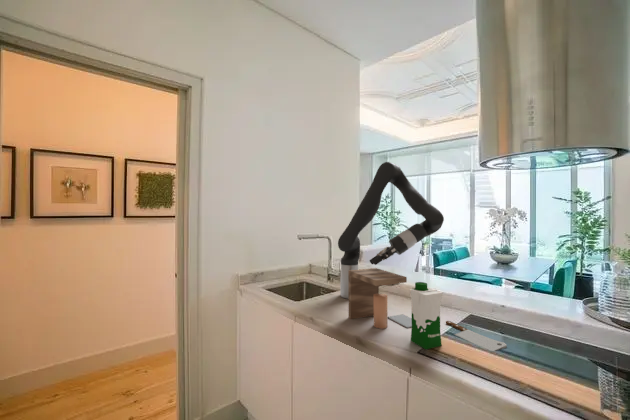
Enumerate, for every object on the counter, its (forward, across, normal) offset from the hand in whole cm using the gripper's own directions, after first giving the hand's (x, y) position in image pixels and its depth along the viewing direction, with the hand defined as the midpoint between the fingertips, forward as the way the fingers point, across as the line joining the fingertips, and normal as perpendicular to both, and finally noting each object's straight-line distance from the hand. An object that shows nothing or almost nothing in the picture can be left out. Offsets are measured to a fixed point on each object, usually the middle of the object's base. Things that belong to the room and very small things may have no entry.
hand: (372, 262), depth 126 cm
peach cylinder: (+12, +6, +21) cm, 25 cm away
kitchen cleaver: (-12, +14, +40) cm, 44 cm away
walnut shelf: (+13, +4, +20) cm, 24 cm away
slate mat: (+3, +1, +27) cm, 27 cm away
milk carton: (+3, +21, +30) cm, 37 cm away
